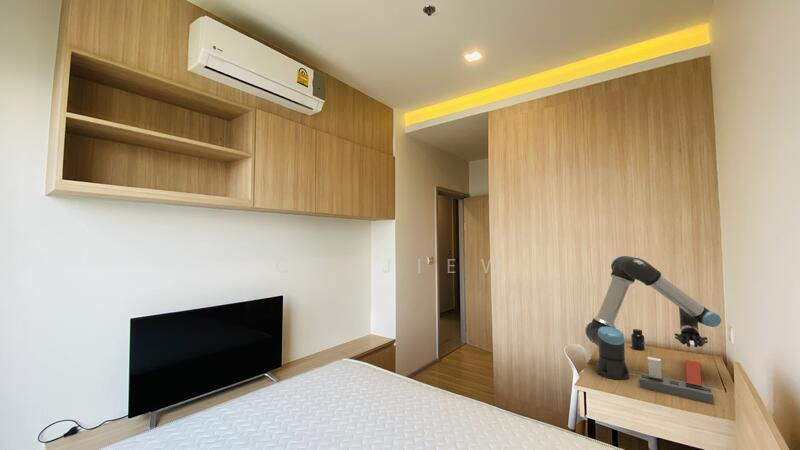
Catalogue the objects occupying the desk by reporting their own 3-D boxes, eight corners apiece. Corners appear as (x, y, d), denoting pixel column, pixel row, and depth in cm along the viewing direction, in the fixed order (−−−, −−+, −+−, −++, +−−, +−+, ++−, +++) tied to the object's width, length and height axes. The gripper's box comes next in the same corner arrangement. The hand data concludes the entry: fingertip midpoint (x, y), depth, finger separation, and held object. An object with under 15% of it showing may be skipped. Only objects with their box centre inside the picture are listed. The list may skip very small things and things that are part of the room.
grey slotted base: (639, 387, 159) (639, 378, 159) (641, 380, 165) (640, 371, 166) (713, 404, 142) (713, 393, 142) (711, 395, 149) (711, 385, 149)
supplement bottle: (645, 351, 203) (644, 332, 204) (632, 349, 207) (631, 330, 207) (644, 348, 209) (643, 329, 210) (631, 346, 213) (630, 327, 213)
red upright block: (686, 384, 150) (685, 360, 153) (686, 383, 152) (685, 360, 154) (701, 387, 147) (699, 362, 150) (701, 386, 148) (699, 362, 151)
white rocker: (648, 377, 159) (647, 358, 157) (648, 375, 160) (647, 356, 158) (661, 379, 156) (660, 361, 154) (661, 377, 157) (660, 359, 155)
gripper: (707, 343, 169) (711, 358, 151) (674, 339, 177) (675, 352, 159) (706, 328, 169) (710, 341, 151) (673, 325, 178) (674, 337, 160)
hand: (692, 347), depth 155 cm, fingers closed
